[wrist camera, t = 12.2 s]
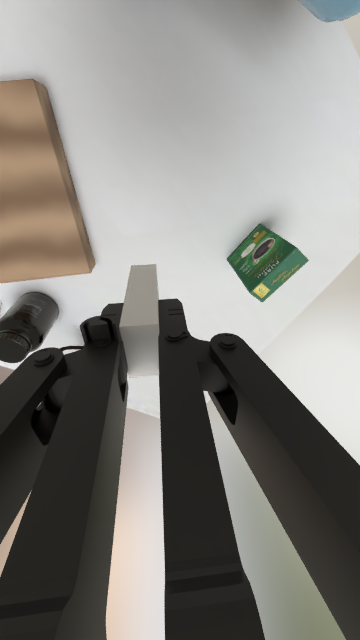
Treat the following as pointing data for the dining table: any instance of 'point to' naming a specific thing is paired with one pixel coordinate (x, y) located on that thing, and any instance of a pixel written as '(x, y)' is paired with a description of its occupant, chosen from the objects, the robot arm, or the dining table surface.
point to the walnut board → (36, 191)
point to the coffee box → (265, 262)
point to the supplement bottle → (26, 326)
